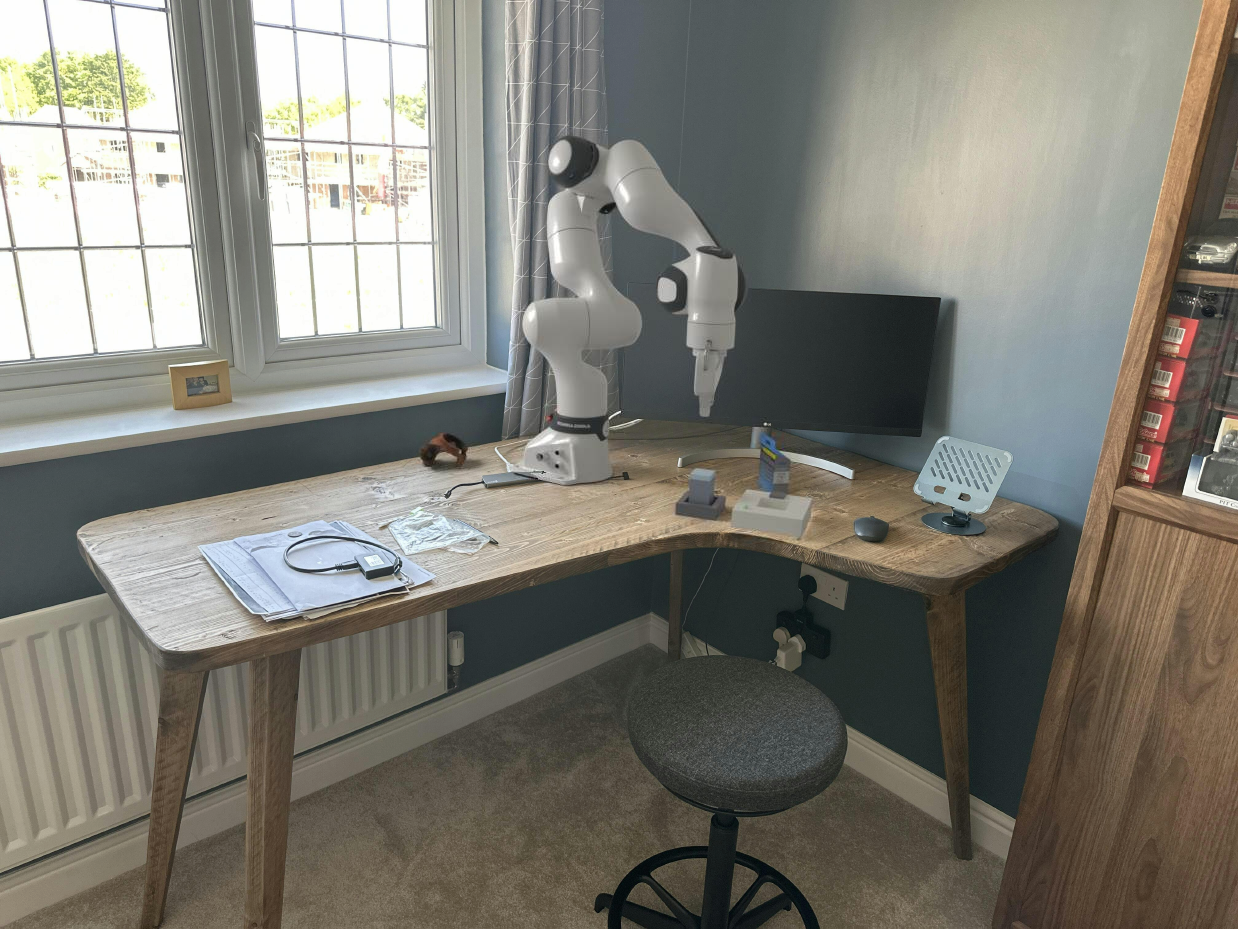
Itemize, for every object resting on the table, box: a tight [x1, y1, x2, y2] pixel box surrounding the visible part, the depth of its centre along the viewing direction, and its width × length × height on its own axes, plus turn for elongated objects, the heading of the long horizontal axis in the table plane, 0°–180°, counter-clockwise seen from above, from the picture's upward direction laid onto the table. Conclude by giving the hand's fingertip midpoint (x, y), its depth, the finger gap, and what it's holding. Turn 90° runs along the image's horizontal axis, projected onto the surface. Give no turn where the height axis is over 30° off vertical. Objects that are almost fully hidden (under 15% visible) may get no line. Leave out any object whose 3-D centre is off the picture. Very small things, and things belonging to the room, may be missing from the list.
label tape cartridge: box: [757, 431, 792, 495], centre depth 177 cm, size 9×4×12 cm, turn 11°
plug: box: [688, 468, 716, 506], centre depth 163 cm, size 4×4×8 cm
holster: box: [674, 490, 727, 522], centre depth 164 cm, size 8×8×3 cm
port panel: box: [730, 489, 813, 541], centre depth 159 cm, size 13×13×4 cm
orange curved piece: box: [418, 432, 469, 468], centre depth 189 cm, size 12×10×8 cm
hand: (706, 410), depth 158 cm, fingers open, 8 cm apart
